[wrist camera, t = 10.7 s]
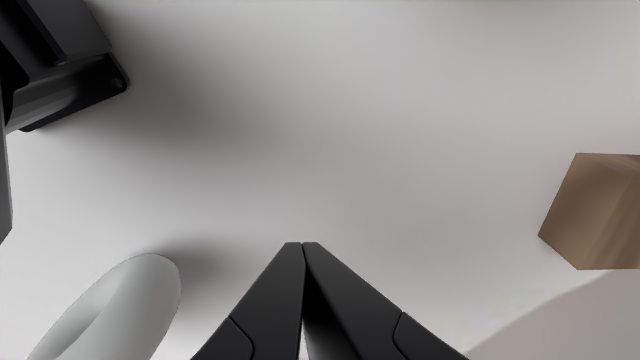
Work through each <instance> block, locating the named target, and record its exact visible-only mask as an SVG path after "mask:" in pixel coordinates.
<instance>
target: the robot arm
mask: <svg viewBox="0 0 640 360" xmlns="http://www.w3.org/2000/svg"><path fill="white" fill-rule="evenodd" d="M111 46H112V45H111V43H110V41H109V40H108V38H107V37H106V35H105V34H104V32H103V31H102V29H101V27H100V26H99V24H98V23H97V21H96V20H95V18H94V17H93V15H92V13H91V12H90V10H89V9H88V7H87V6H86V4H85V2H84V1H83V0H0V245H1V243H2V242H3V241H4V239H5V238H6V236H7V235H8V234H9V232H10V231H11V229H12V217H13V210H12V199H11V188H10V177H9V166H8V156H7V145H6V134H9V133H11V132H13V131H15V130H17V129H18V130H20V131H22V132H30V131H33V130H35V129H38V128H40V127H42V126H45V125H47V124H49V123H52V122H54V121H56V120H59V119H61V118H64V117H66V116H68V115H71V114H73V113H75V112H78V111H80V110H83V109H85V108H87V107H90V106H92V105H94V104H97V103H99V102H101V101H104V100H106V99H109V98H111V97H113V96H116V95H118V94H120V93H123V92H125V91H126V90H128V89H129V87H130V80H129V78H128V76H127V75H126V73H125V72H124V70H123V69H122V67H121V65H120V64H119V62H118V61H117V59H116V58H115V56H114V55H113V53H112V52H111ZM115 78H117V79H119V80H120V81H121V82H122V87H120V86H118V85H117V84H116V83H115ZM28 124H29V125H28ZM302 324H303V330H304V336H305V341H306V346H307V352H308V357H309V360H469V359H468V358H466V357H465V356H464V355H462V354H461V353H459V352H458V351H456V350H455V349H454V348H452V347H451V346H449V345H448V344H446V343H445V342H444V341H442V340H441V339H439V338H438V337H437V336H435V335H434V334H433V333H431V332H430V331H429V330H427V329H426V328H425V327H423V326H422V325H421V324H419V323H418V322H417V321H416V320H414V319H413V318H412V317H411V316H409V315H408V314H407V313H406V312H402V310H401V309H400V308H398V307H397V306H396V305H395V304H393V303H392V302H391V301H390V300H388V299H387V298H386V297H385V296H383V295H382V294H381V293H380V292H378V291H377V290H376V289H375V288H373V287H372V286H371V285H370V284H368V283H367V282H366V281H365V280H364V279H362V278H361V277H360V276H359V275H357V274H356V273H355V272H354V271H352V270H351V269H350V268H349V267H347V266H346V265H345V264H344V263H342V262H341V261H340V260H339V259H337V258H336V257H335V256H334V255H332V254H331V253H330V252H329V251H327V250H326V249H325V248H324V247H322V246H321V245H320V244H319V243H317V242H304V243H302V244H301V243H300V242H287V243H285V244H284V246H283V247H282V248H281V249H280V251H279V252H278V253H277V254H276V256H275V257H274V258H273V259H272V261H271V262H270V263H269V265H268V266H267V267H266V268H265V270H264V271H263V272H262V273H261V275H260V276H259V277H258V279H257V280H256V281H255V282H254V284H253V285H252V286H251V287H250V289H249V290H248V291H247V292H246V294H245V295H244V296H243V298H242V299H241V300H240V301H239V303H238V304H237V305H236V306H235V308H234V309H233V310H232V312H231V313H230V314H229V315H228V317H227V318H225V320H224V321H223V322H222V323H221V325H220V326H219V327H218V328H217V330H216V331H215V332H214V333H213V335H212V336H211V337H210V338H209V339H208V340H207V342H206V343H205V344H204V345H203V346H202V347H201V349H200V350H199V351H198V352H197V353H196V354H195V355H194V356H193V357H192V358H191V359H190V360H299V353H300V342H301V330H302Z"/></svg>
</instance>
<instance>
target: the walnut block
mask: <svg viewBox="0 0 640 360" xmlns="http://www.w3.org/2000/svg"><path fill="white" fill-rule="evenodd" d="M538 236H539V237H540V238H541V239H542V240H544V241H545V242H546V243H547V244H548V245H549V246H551V247H552V248H553V249H554V250H555V251H556V252H557V253H559V254H560V255H561V256H562V257H563V258H564V259H565V260H567V261H568V262H569V263H570V264H571V265H572V266H573V267H575V268H576V269H577V270H602V269H640V155H623V154H594V153H576V155H575V157H574V159H573V161H572V163H571V165H570V167H569V169H568V172H567V174H566V176H565V178H564V180H563V182H562V184H561V186H560V189H559V191H558V193H557V195H556V197H555V199H554V201H553V203H552V205H551V208H550V210H549V212H548V214H547V216H546V218H545V220H544V222H543V224H542V227H541V229H540V231H539V233H538Z"/></svg>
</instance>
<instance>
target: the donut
mask: <svg viewBox="0 0 640 360" xmlns="http://www.w3.org/2000/svg"><path fill="white" fill-rule="evenodd" d="M181 292H182V283H181V278H180V274H179V271H178V268H177V267H176V265H175V264H174V263H173V262H172V261H170V260H168V259H167V258H165V257H162V256H160V255H156V254H150V253H149V254H142V255H138V256H135V257H133V258H130V259H128V260H126V261H124V262H122V263H120V264H119V265H117V266H116V267H114V268H113V269H111V270H110V271H109V272H107V273H106V274H105V275H104V276H102V277H101V278H100V279H99V280H97V281H96V282H95V283H94V284H93V285H92V286H91V287H90V288H89V289H88V290H87V291H85V292H84V293H83V294H82V295H81V296H80V297H79V298H78V299H77V300H76V301H75V302H74V303H73V304H72V305H71V306H70V307H69V308H68V309H67V310H66V311H65V313H64V314H63V315H62V316H61V317H60V318H59V319H58V320H57V322H56V323H55V324H54V325H53V326H52V327H51V328H50V329H49V331H48V332H47V333H46V334H45V336H44V337H43V338H42V339H41V341H40V342H39V343H38V344H37V346H36V347H35V348H34V349H33V351H32V352H31V354H30V355H29V357H28V358H27V360H150V358H151V357H152V355H153V354H154V352H155V351H156V349H157V347H158V346H159V344H160V343H161V341H162V339H163V338H164V336H165V335H166V333H167V330H168V328H169V326H170V324H171V322H172V320H173V317H174V315H175V313H176V311H177V309H178V305H179V301H180V297H181Z"/></svg>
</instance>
